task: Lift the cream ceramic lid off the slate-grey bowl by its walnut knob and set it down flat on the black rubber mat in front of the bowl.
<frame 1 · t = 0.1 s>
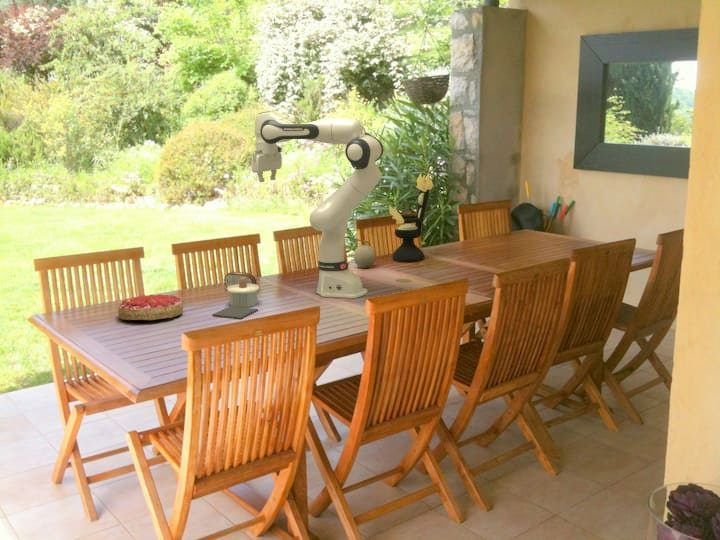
hand: (267, 181, 343), 48 cm above the table, fingers open, 8 cm apart
fruit: (365, 267, 389), on the table
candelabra: (412, 259, 407), on the table
cake: (151, 317, 309), on the table
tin: (240, 291, 347), on the table
lid: (243, 289, 323), point 6 cm above the table, touching bowl
bowl: (243, 303, 324), on the table
mat: (235, 313, 310), on the table
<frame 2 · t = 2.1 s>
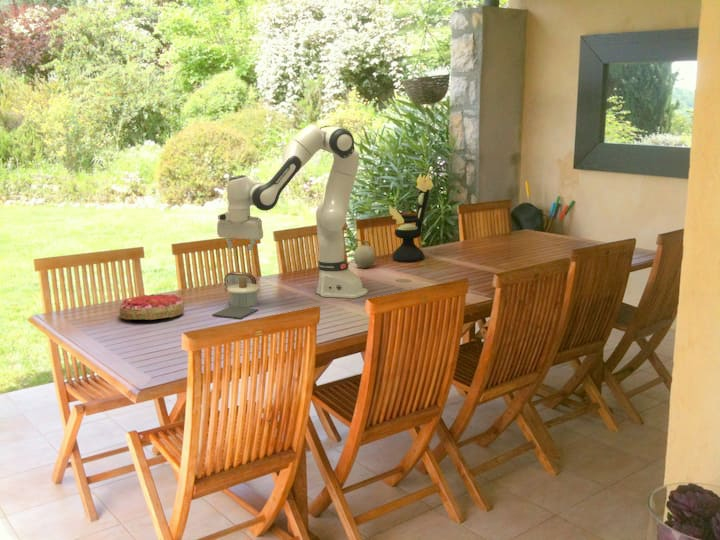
hand: (240, 249, 319), 23 cm above the table, fingers open, 8 cm apart
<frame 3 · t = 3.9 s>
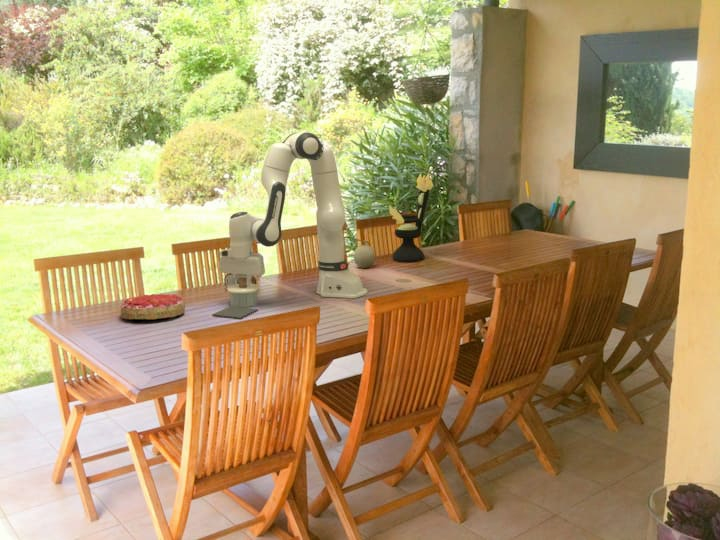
hand: (242, 284, 322), 8 cm above the table, fingers closed on lid, 3 cm apart
lid: (243, 289, 323), point 6 cm above the table, touching bowl, gripper
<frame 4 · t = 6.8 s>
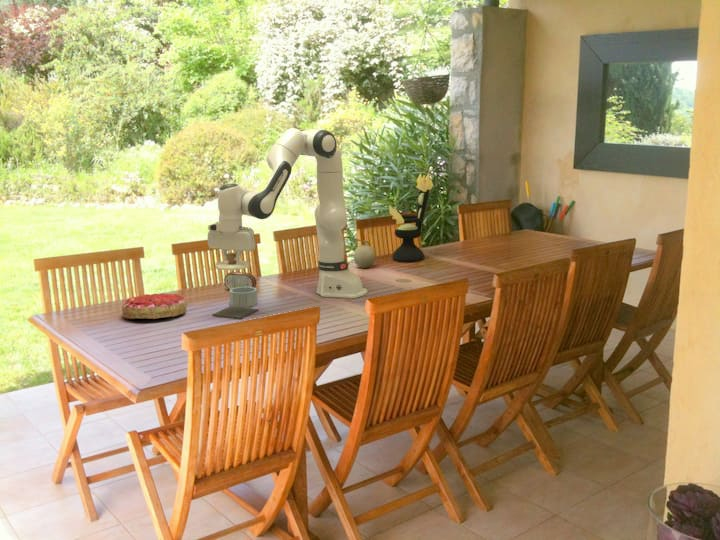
hand: (232, 260, 305), 21 cm above the table, fingers closed on lid, 3 cm apart
lid: (232, 266, 306), point 19 cm above the table, touching gripper
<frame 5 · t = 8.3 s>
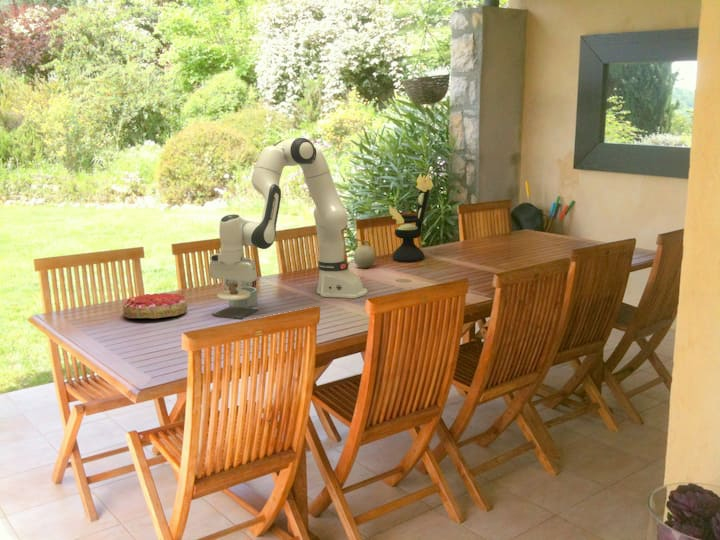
hand: (233, 290, 308), 9 cm above the table, fingers closed on lid, 3 cm apart
lid: (234, 296, 308), point 7 cm above the table, touching gripper
when the fingers open (5 cm above the table, at t = 9.3 s): lid drops 2 cm, resting on mat.
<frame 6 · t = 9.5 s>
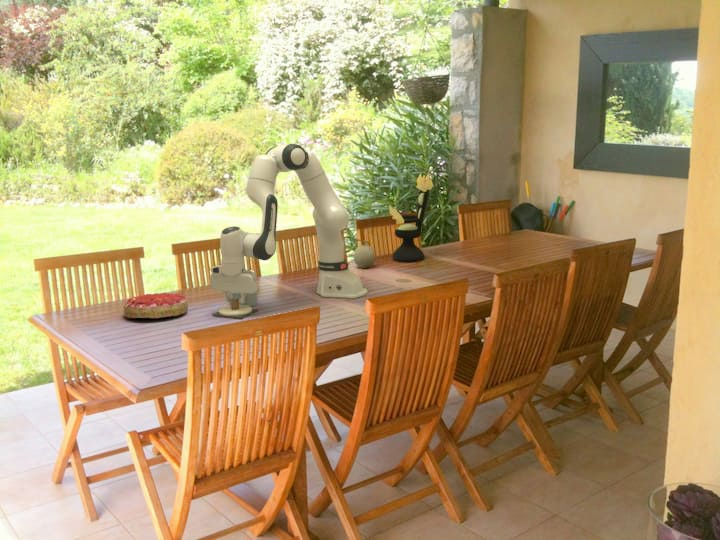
hand: (234, 302, 309), 5 cm above the table, fingers open, 5 cm apart
lid: (235, 311, 310), point 1 cm above the table, touching mat
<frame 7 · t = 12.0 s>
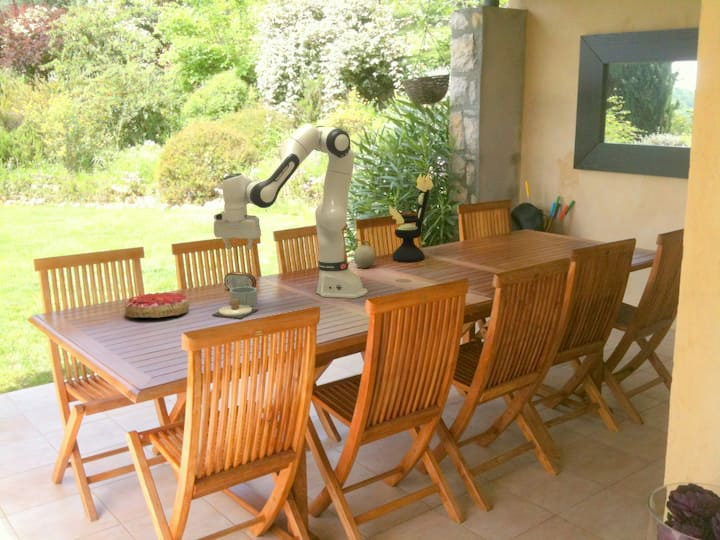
hand: (238, 248, 312), 25 cm above the table, fingers open, 8 cm apart
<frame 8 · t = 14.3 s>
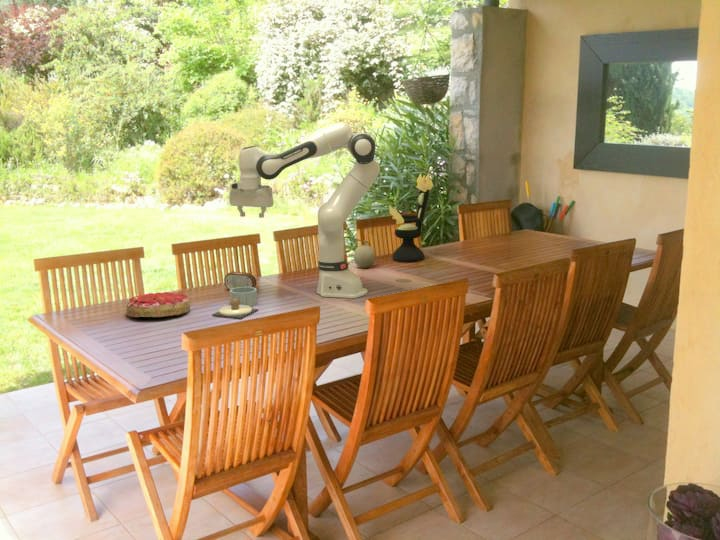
hand: (252, 217, 333), 34 cm above the table, fingers open, 8 cm apart
at the end: lid 0.0 cm from the mat (horizontally); lid point 0.8 cm above the table; lid tilted 0° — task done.
